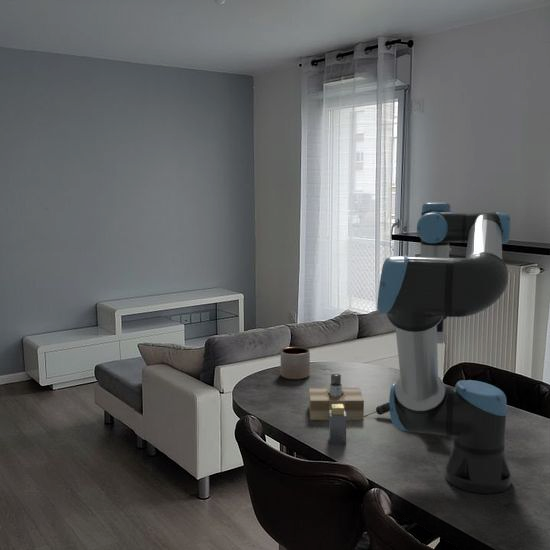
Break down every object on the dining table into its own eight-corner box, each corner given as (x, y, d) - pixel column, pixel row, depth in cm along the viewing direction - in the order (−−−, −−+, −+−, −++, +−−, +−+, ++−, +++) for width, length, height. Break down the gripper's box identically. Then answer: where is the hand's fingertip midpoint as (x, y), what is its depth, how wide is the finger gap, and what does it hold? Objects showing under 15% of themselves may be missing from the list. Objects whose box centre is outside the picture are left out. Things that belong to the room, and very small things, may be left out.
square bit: (346, 443, 177) (346, 408, 175) (330, 443, 177) (330, 408, 176) (344, 437, 181) (345, 403, 180) (329, 437, 181) (329, 403, 180)
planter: (278, 379, 234) (278, 353, 232) (282, 370, 244) (282, 346, 243) (308, 380, 232) (308, 355, 230) (311, 372, 242) (311, 347, 241)
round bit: (341, 414, 199) (342, 377, 197) (330, 414, 199) (330, 376, 197) (340, 410, 202) (341, 373, 200) (329, 410, 202) (329, 373, 200)
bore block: (363, 419, 194) (363, 400, 193) (310, 419, 195) (310, 400, 194) (359, 405, 206) (359, 387, 205) (309, 405, 206) (309, 387, 206)
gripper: (460, 266, 162) (457, 348, 165) (438, 254, 186) (435, 326, 189) (430, 266, 162) (428, 348, 165) (411, 254, 186) (410, 326, 190)
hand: (432, 336), depth 177 cm, fingers open, 13 cm apart
